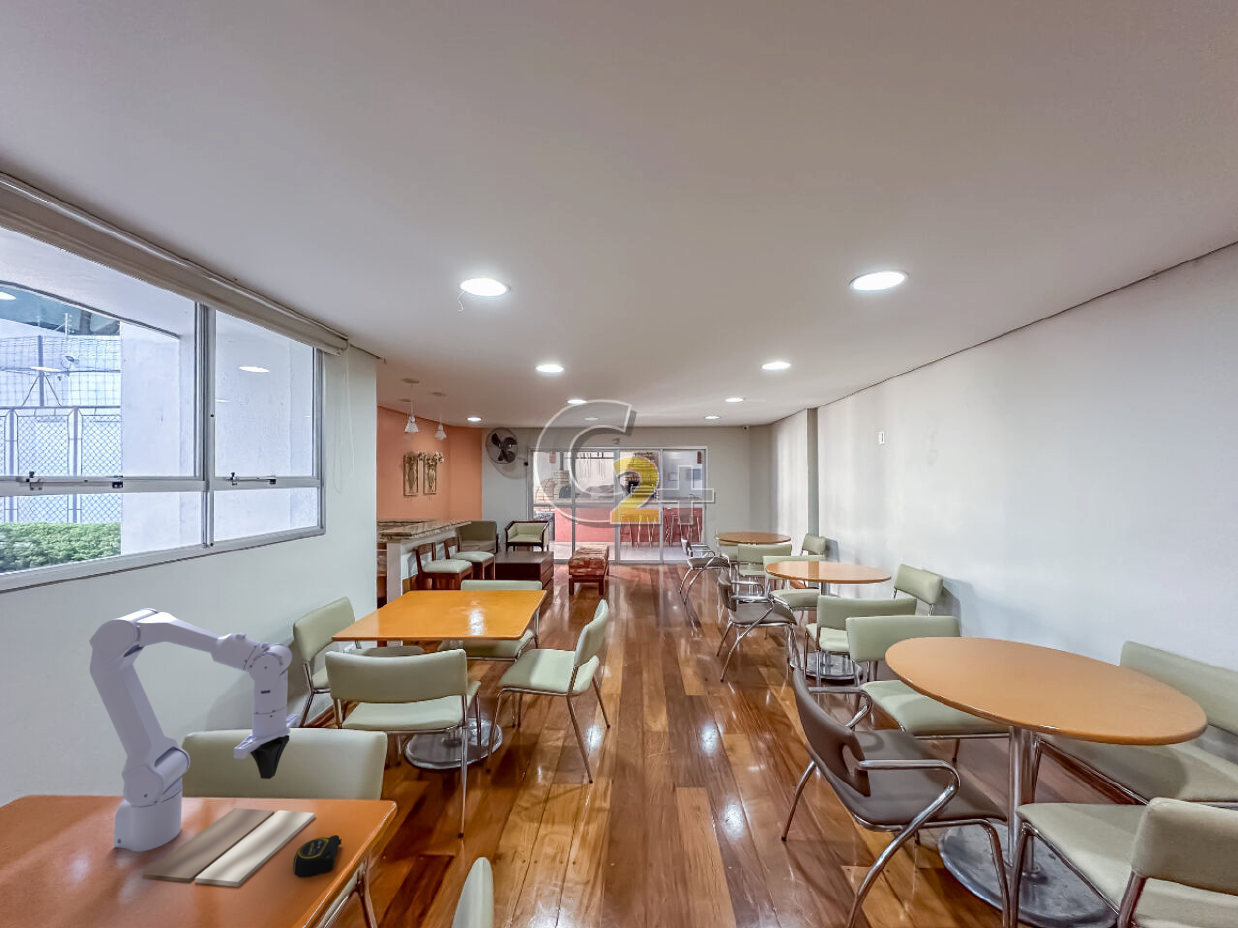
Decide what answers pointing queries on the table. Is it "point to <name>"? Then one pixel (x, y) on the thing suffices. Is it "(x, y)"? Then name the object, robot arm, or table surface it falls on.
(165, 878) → the grey rectangular panel
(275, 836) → the plank
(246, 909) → the table surface
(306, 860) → the tape measure
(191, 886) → the table surface
